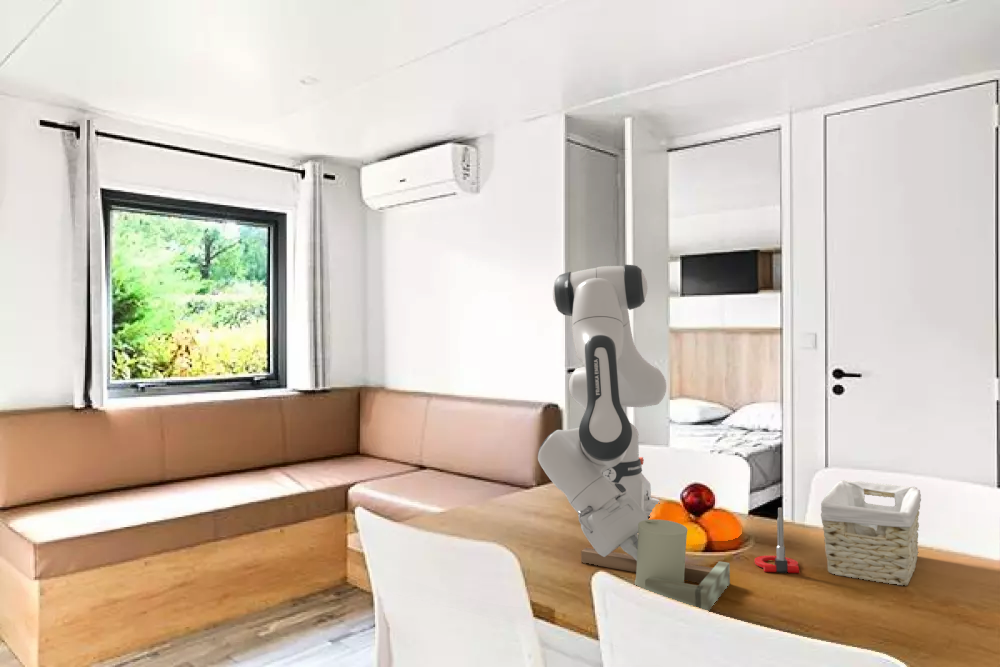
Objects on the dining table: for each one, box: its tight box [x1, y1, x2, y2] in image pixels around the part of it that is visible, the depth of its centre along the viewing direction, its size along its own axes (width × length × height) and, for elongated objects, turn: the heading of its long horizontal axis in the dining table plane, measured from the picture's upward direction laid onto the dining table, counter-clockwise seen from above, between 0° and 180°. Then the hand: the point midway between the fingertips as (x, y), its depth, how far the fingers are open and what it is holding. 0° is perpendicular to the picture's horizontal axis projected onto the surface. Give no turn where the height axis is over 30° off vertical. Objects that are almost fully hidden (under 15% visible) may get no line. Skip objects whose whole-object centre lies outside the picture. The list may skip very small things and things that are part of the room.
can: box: [634, 518, 688, 589], centre depth 135 cm, size 9×9×12 cm
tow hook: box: [754, 507, 800, 574], centre depth 147 cm, size 8×13×9 cm
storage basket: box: [820, 479, 922, 587], centre depth 146 cm, size 24×16×15 cm
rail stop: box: [580, 547, 731, 612], centre depth 138 cm, size 16×30×4 cm, turn 59°
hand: (644, 558), depth 138 cm, fingers closed, pressing on can
